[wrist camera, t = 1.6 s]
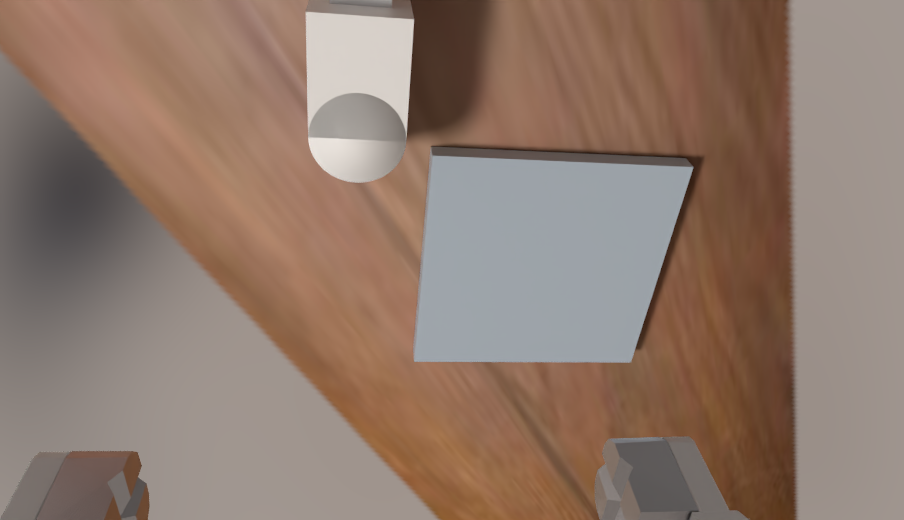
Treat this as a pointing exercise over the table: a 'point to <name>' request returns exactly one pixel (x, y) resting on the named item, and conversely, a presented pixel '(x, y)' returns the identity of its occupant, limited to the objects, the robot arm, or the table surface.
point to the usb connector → (358, 85)
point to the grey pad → (542, 253)
